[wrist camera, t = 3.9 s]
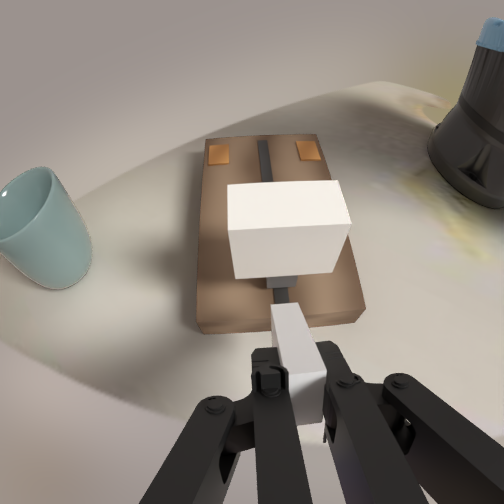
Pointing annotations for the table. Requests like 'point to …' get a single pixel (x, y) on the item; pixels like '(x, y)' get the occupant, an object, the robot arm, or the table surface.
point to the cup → (43, 230)
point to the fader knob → (286, 229)
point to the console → (219, 252)
